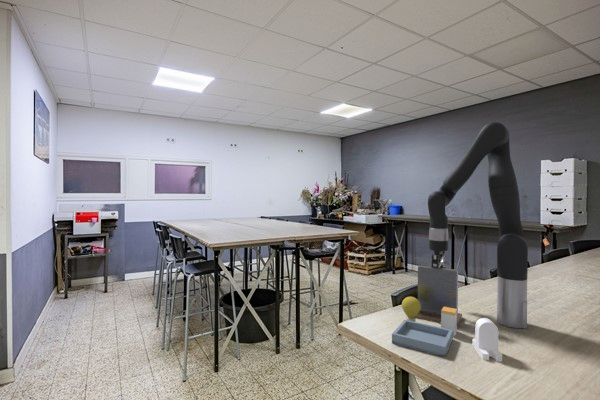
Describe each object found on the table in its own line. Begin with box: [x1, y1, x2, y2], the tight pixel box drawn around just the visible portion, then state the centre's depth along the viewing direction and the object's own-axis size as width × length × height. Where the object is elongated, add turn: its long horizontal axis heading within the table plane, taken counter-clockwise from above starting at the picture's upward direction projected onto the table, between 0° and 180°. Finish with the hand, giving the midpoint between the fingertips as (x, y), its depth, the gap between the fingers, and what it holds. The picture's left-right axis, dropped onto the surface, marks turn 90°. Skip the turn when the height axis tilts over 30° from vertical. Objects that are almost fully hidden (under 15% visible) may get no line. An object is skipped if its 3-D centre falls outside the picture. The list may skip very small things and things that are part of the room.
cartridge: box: [440, 307, 458, 337], centre depth 112 cm, size 4×4×8 cm
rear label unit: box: [415, 264, 463, 327], centre depth 126 cm, size 16×10×20 cm, turn 56°
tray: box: [391, 319, 454, 358], centre depth 106 cm, size 16×14×3 cm
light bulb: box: [401, 296, 421, 322], centre depth 120 cm, size 7×7×10 cm
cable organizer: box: [472, 317, 503, 362], centre depth 98 cm, size 5×10×10 cm, turn 168°
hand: (438, 277), depth 136 cm, fingers open, 8 cm apart
